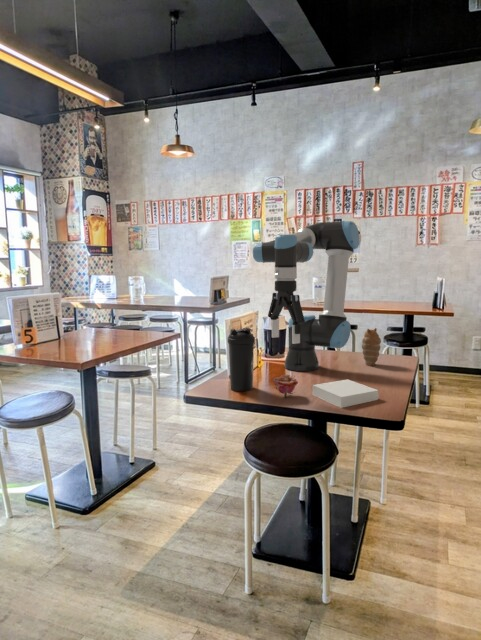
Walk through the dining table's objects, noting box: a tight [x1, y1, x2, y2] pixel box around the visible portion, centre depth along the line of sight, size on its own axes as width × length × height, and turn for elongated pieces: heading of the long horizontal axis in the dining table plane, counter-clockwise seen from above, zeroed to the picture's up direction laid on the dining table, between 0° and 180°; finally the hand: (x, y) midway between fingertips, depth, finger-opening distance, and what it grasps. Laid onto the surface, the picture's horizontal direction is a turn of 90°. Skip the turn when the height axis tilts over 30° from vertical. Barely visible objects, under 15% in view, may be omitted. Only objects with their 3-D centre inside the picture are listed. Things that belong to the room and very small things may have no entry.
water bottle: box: [227, 327, 256, 392], centre depth 172 cm, size 10×10×23 cm
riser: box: [312, 378, 379, 409], centre depth 159 cm, size 16×16×4 cm
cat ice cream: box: [361, 327, 382, 367], centre depth 201 cm, size 9×8×18 cm
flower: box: [271, 373, 299, 398], centre depth 161 cm, size 10×9×8 cm
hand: (285, 340), depth 159 cm, fingers open, 13 cm apart
